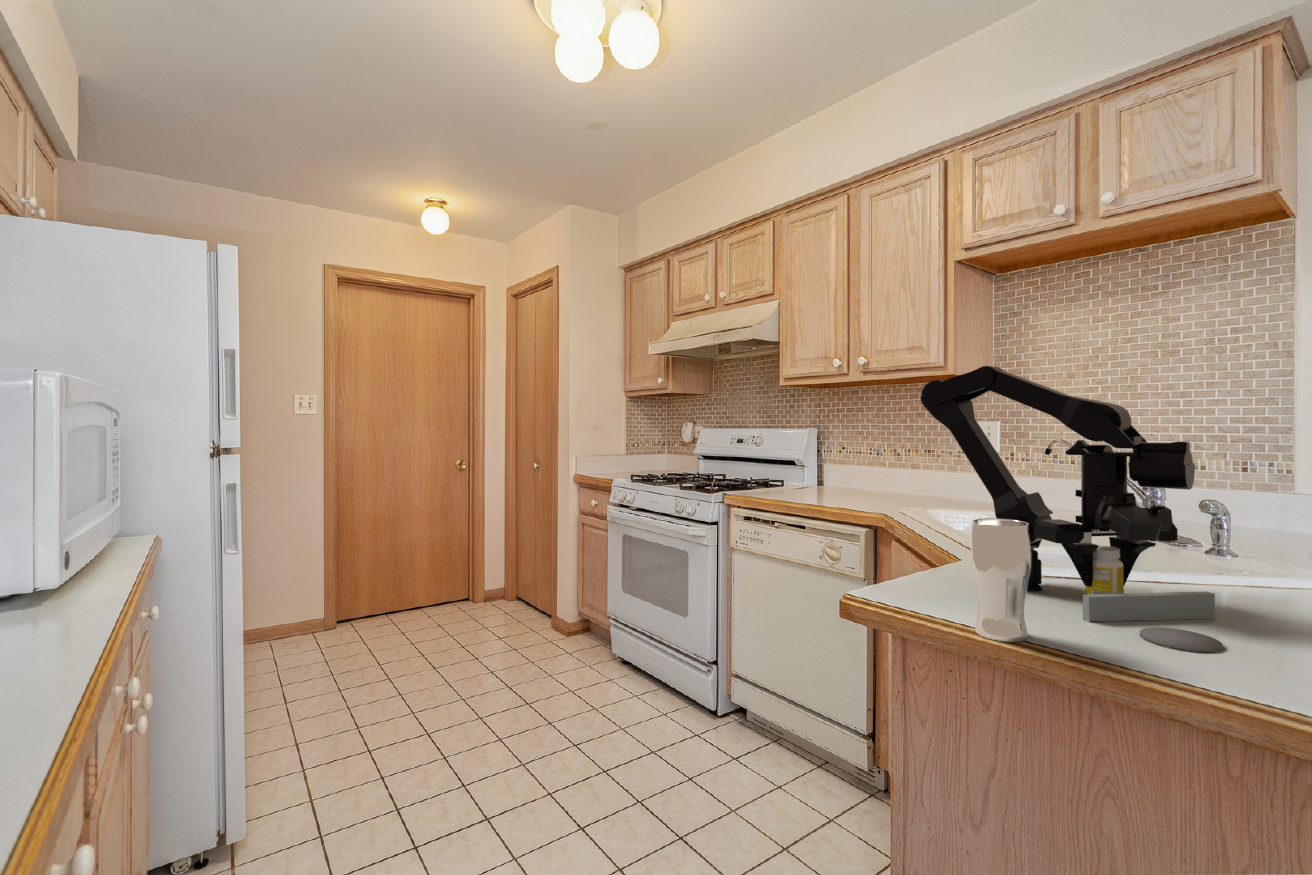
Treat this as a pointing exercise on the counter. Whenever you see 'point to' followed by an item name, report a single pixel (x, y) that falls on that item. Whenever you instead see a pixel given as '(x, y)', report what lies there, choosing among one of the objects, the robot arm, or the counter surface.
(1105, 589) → the supplement bottle
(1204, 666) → the counter surface
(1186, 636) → the coaster
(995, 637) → the beer glass
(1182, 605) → the gray rectangular bar
